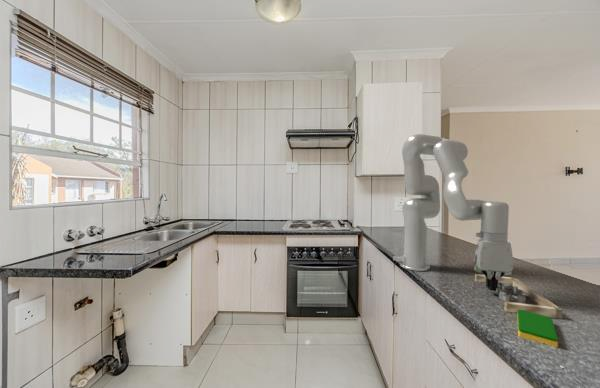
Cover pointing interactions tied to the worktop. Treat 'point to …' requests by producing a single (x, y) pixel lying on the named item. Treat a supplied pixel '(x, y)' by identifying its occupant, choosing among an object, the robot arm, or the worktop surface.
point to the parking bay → (543, 304)
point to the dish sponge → (536, 328)
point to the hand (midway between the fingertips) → (491, 289)
